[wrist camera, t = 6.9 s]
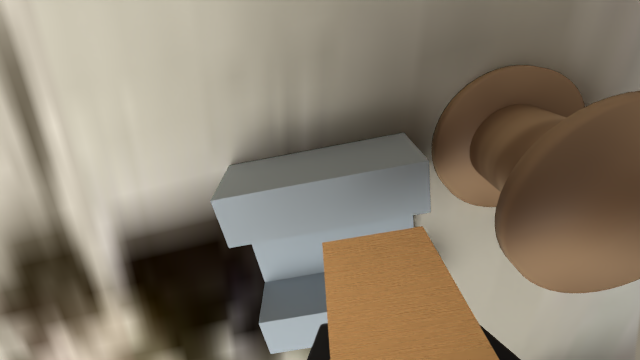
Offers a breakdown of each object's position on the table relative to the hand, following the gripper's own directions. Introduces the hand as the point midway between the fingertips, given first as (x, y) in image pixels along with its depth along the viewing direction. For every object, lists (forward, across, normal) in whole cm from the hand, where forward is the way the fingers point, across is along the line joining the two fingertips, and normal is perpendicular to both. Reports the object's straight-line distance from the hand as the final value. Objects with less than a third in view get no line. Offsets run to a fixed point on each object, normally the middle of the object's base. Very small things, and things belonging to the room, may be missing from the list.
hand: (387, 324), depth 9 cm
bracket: (+11, +1, +4) cm, 12 cm away
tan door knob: (+11, -9, 0) cm, 14 cm away
